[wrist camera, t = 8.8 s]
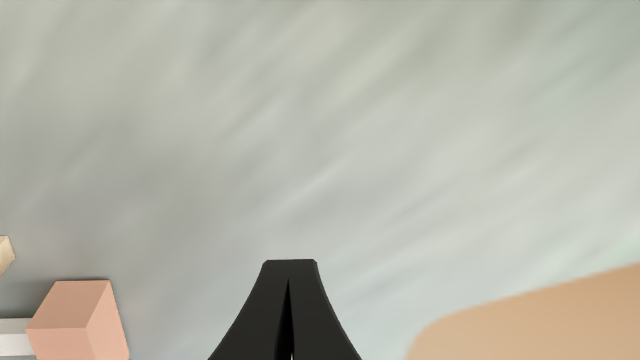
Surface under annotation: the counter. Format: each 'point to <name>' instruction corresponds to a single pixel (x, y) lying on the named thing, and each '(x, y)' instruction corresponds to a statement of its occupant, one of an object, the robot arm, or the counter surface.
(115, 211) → the counter surface
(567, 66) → the counter surface
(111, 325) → the peach and white mallet
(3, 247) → the channel
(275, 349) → the robot arm
